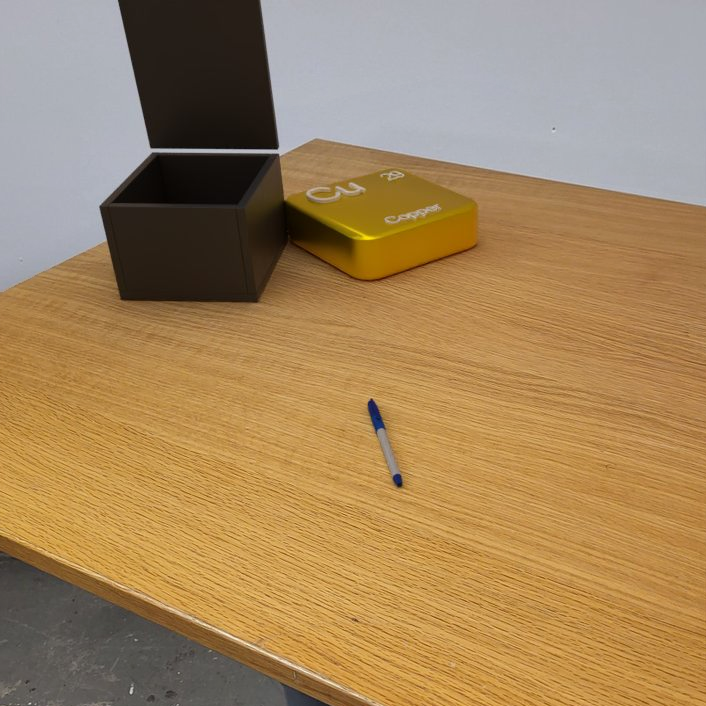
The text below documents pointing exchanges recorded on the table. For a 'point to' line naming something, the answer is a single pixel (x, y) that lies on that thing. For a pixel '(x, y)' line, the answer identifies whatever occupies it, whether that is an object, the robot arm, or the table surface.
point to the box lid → (201, 73)
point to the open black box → (197, 227)
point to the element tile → (381, 223)
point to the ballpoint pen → (384, 442)
